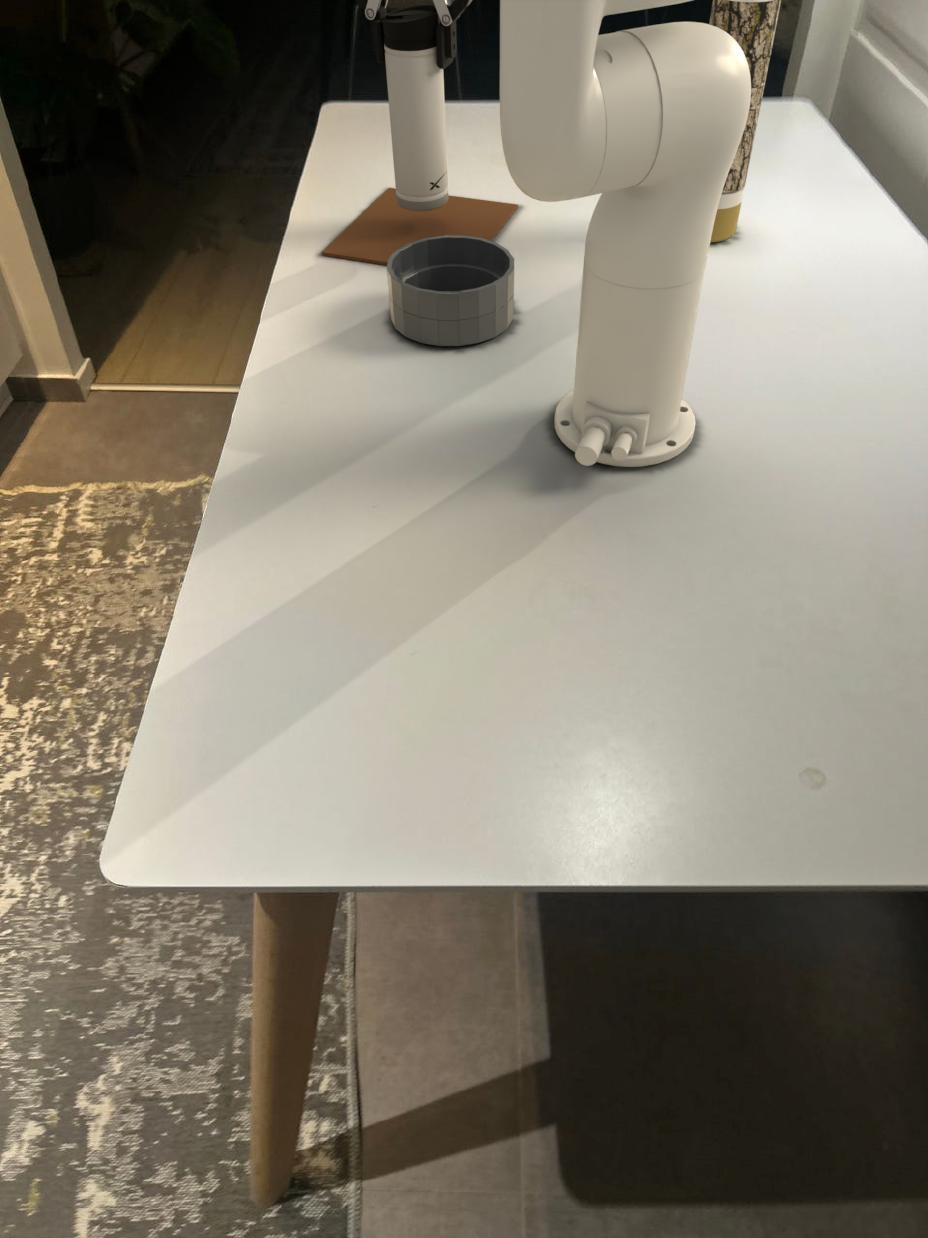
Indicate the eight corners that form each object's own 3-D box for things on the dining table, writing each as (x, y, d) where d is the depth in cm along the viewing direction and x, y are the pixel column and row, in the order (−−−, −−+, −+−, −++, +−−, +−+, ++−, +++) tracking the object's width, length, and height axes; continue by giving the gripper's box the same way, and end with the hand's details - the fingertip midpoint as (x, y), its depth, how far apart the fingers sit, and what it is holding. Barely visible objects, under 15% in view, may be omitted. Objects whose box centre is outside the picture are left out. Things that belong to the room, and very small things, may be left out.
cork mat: (464, 277, 105) (464, 273, 104) (321, 255, 109) (321, 251, 109) (518, 207, 118) (518, 204, 117) (389, 190, 122) (388, 187, 122)
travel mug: (450, 211, 108) (442, 13, 94) (394, 212, 109) (378, 15, 94) (452, 190, 113) (445, -3, 98) (398, 191, 113) (383, -1, 99)
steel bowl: (489, 357, 93) (489, 301, 88) (372, 336, 96) (366, 281, 92) (528, 298, 101) (530, 244, 97) (419, 281, 104) (416, 228, 100)
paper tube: (719, 249, 108) (766, -1, 90) (668, 235, 111) (703, -10, 93) (745, 229, 112) (794, -16, 94) (694, 215, 115) (733, -24, 97)
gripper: (304, -149, 87) (328, 65, 100) (476, -143, 83) (478, 79, 96) (338, -160, 92) (357, 45, 105) (503, -155, 87) (501, 58, 100)
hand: (415, 60), depth 100 cm, fingers closed on travel mug, 6 cm apart
